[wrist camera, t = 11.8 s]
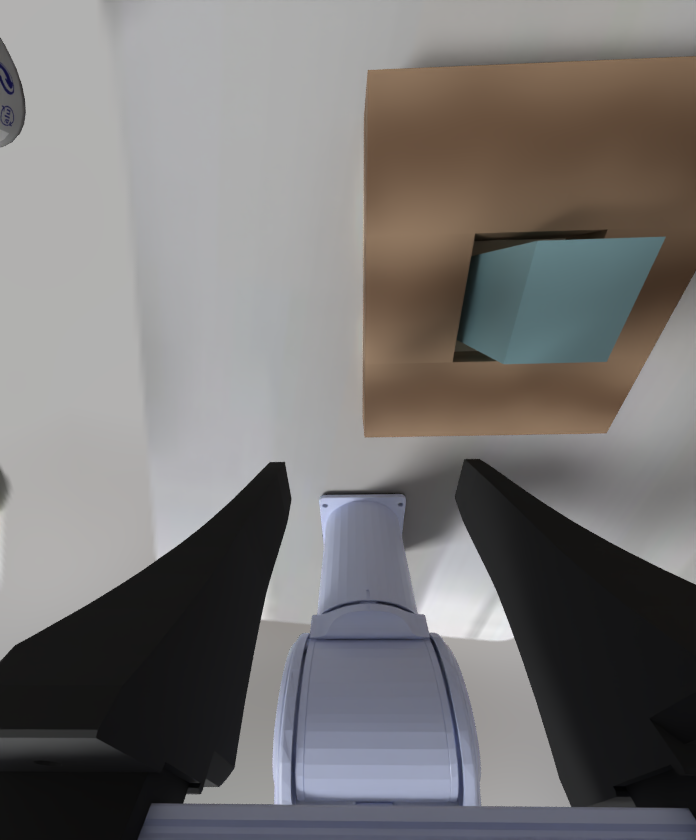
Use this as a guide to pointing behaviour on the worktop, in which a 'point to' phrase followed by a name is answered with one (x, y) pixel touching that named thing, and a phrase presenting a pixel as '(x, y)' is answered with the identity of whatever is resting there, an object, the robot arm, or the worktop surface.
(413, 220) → the socket block
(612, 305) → the peg
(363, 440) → the worktop surface
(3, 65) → the energy drink
